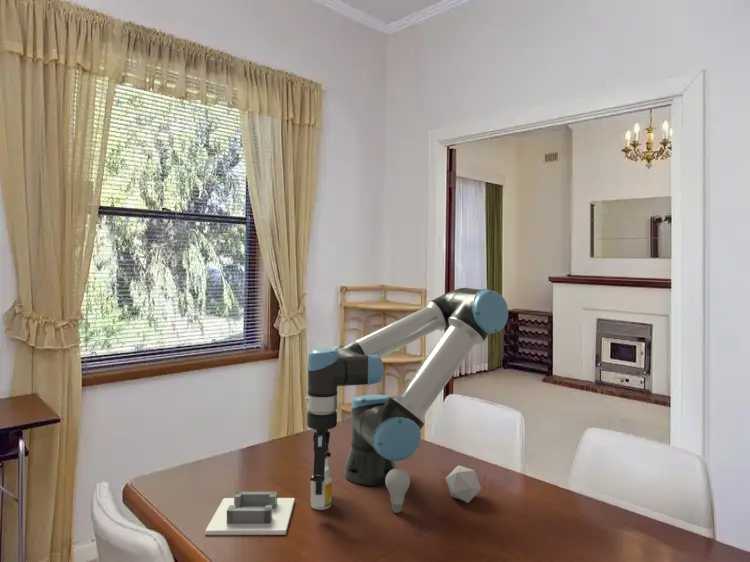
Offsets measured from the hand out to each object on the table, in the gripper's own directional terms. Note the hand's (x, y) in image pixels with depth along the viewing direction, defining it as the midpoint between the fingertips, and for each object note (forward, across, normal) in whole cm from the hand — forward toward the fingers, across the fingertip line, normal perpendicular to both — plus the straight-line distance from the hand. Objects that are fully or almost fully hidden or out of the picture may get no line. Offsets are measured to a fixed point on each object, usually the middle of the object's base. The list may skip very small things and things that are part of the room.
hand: (320, 493), depth 130 cm
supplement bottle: (+3, 0, 0) cm, 3 cm away
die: (+3, -4, +37) cm, 38 cm away
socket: (+3, +6, -16) cm, 17 cm away
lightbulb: (+3, +4, +19) cm, 20 cm away
